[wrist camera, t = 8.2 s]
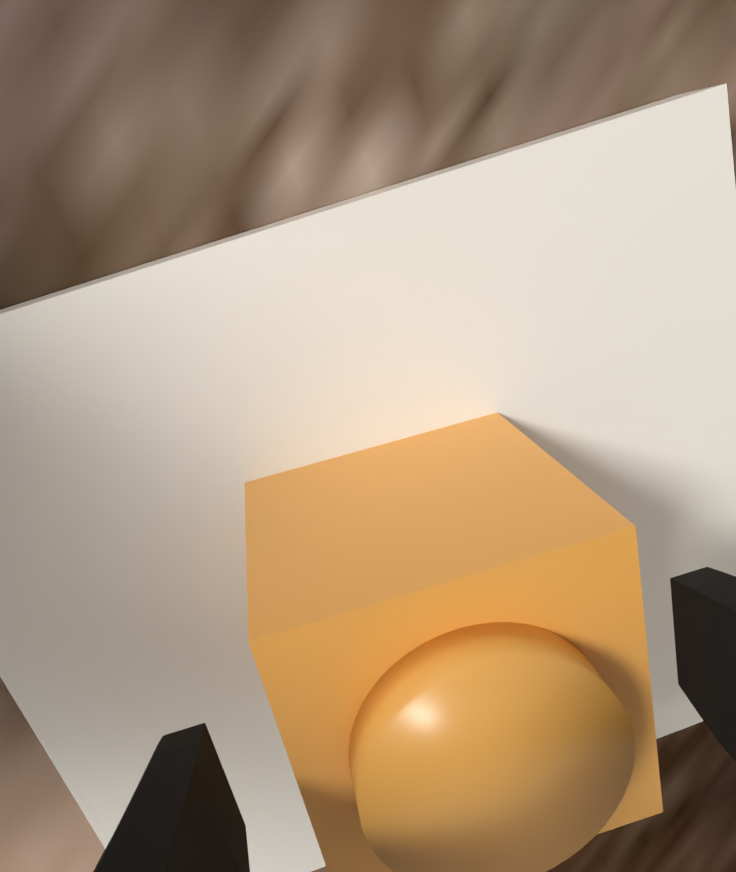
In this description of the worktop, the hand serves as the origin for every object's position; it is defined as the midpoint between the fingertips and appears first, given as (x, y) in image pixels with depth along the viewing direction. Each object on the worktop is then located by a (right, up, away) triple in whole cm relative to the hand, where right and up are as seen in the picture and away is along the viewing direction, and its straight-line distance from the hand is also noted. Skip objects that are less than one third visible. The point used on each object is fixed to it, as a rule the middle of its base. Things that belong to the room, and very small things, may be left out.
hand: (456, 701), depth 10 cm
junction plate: (-1, +2, +5) cm, 6 cm away
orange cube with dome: (-1, +1, +4) cm, 4 cm away
